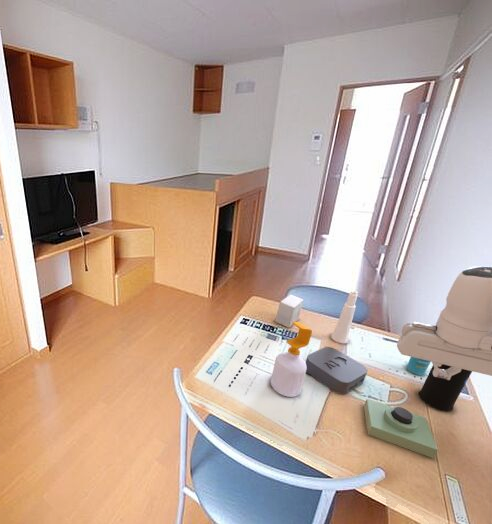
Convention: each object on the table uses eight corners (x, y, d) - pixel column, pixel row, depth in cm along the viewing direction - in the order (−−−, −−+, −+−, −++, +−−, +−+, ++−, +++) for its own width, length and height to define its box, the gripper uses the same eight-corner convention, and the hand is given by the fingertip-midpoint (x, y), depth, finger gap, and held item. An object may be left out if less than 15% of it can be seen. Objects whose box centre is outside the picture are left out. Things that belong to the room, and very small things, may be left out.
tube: (408, 374, 106) (428, 328, 99) (399, 364, 110) (418, 320, 103) (432, 376, 105) (454, 330, 98) (422, 367, 109) (443, 322, 102)
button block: (422, 425, 87) (428, 413, 85) (433, 458, 78) (440, 445, 76) (363, 406, 93) (368, 393, 91) (367, 434, 84) (373, 421, 82)
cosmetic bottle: (348, 345, 120) (364, 296, 112) (330, 340, 123) (345, 292, 115) (347, 337, 125) (363, 290, 117) (331, 333, 128) (345, 286, 120)
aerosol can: (427, 408, 93) (454, 356, 85) (412, 388, 100) (435, 338, 92) (459, 414, 91) (490, 361, 83) (441, 393, 98) (468, 342, 90)
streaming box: (325, 356, 114) (329, 345, 112) (366, 381, 103) (371, 369, 101) (300, 368, 108) (303, 357, 106) (340, 397, 96) (345, 384, 94)
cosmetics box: (289, 328, 131) (294, 307, 127) (274, 322, 135) (279, 301, 131) (299, 319, 137) (304, 299, 133) (285, 313, 142) (289, 293, 138)
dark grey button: (408, 415, 85) (411, 410, 84) (411, 426, 81) (414, 421, 81) (390, 410, 86) (393, 404, 86) (393, 420, 83) (395, 415, 82)
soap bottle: (264, 380, 102) (277, 319, 93) (285, 374, 105) (300, 313, 96) (284, 400, 95) (301, 335, 85) (306, 393, 98) (325, 329, 88)
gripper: (408, 326, 75) (392, 371, 80) (529, 351, 65) (501, 399, 71) (402, 314, 80) (387, 357, 85) (513, 335, 71) (489, 382, 76)
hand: (440, 376), depth 78 cm, fingers closed
